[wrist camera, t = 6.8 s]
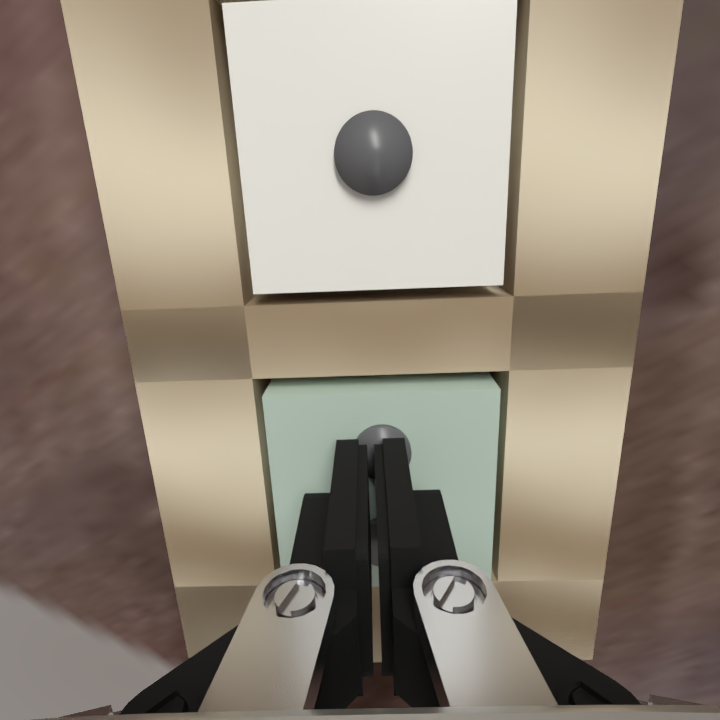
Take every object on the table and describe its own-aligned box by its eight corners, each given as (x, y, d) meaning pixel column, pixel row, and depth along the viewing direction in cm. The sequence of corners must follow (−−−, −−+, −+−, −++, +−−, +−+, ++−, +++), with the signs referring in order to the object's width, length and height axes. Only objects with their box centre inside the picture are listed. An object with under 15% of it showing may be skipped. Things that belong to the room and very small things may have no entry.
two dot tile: (474, 531, 15) (492, 590, 13) (295, 535, 15) (281, 594, 13) (480, 360, 13) (502, 393, 11) (278, 367, 14) (259, 400, 11)
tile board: (555, 583, 17) (592, 659, 14) (218, 589, 18) (189, 664, 15) (628, -130, 11) (717, -246, 8) (109, -97, 11) (22, -196, 9)
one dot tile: (481, 271, 13) (505, 286, 11) (272, 279, 13) (251, 295, 11) (490, 26, 11) (521, -19, 9) (249, 39, 11) (218, -2, 9)
